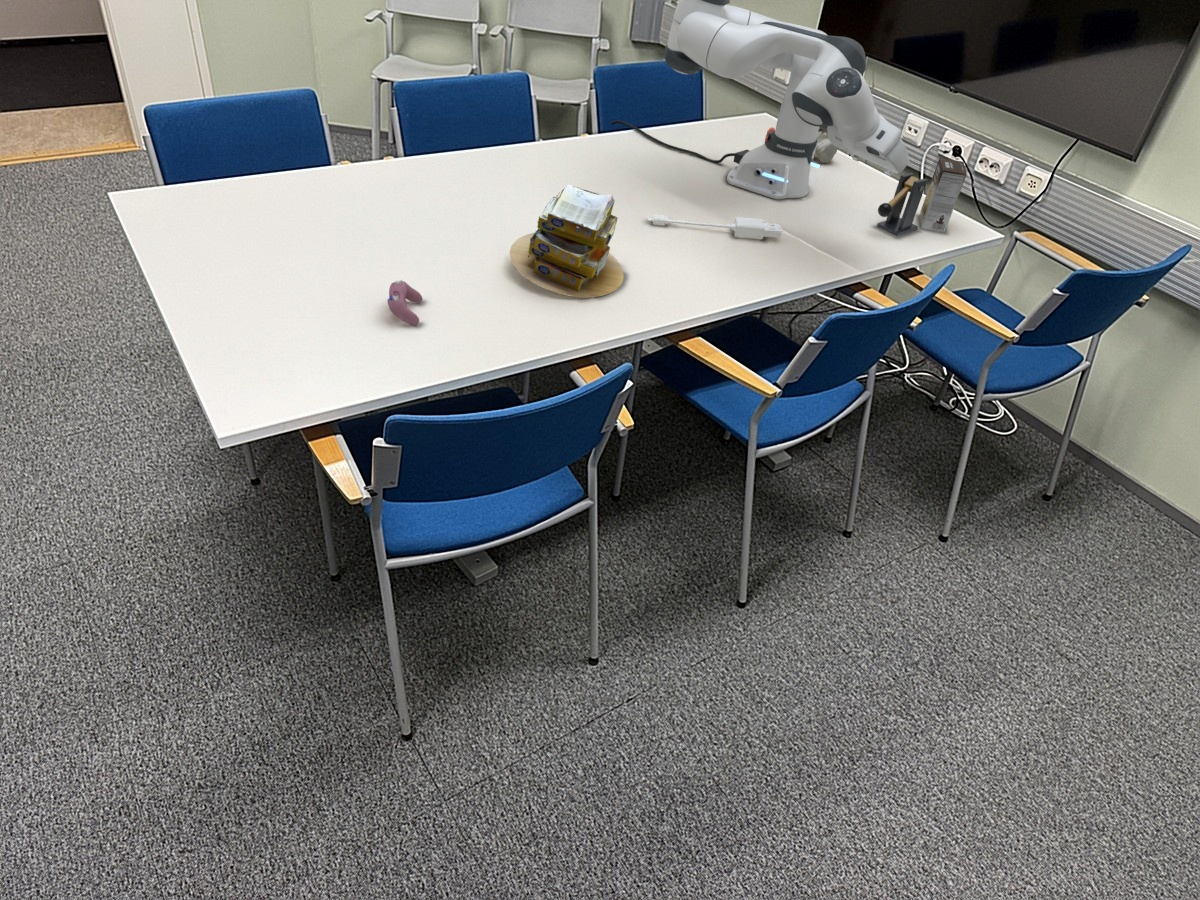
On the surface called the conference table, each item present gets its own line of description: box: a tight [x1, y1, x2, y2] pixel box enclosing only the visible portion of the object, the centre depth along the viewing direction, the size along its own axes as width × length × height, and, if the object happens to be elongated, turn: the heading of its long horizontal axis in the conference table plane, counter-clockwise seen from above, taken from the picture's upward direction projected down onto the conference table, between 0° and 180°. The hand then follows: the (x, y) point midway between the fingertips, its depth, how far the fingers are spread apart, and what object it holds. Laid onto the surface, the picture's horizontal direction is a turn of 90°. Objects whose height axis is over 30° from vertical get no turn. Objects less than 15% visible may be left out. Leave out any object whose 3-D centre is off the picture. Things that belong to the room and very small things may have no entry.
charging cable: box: [646, 214, 783, 241], centre depth 213 cm, size 5×32×3 cm, turn 86°
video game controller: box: [387, 279, 423, 326], centre depth 168 cm, size 10×5×7 cm, turn 5°
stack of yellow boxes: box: [509, 183, 625, 298], centre depth 184 cm, size 25×25×17 cm
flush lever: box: [877, 176, 920, 218], centre depth 218 cm, size 13×3×3 cm
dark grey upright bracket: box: [876, 172, 928, 237], centre depth 222 cm, size 9×6×14 cm
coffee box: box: [918, 157, 968, 233], centre depth 226 cm, size 9×6×16 cm
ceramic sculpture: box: [813, 128, 839, 164], centre depth 260 cm, size 11×9×15 cm
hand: (874, 165), depth 204 cm, fingers open, 8 cm apart
